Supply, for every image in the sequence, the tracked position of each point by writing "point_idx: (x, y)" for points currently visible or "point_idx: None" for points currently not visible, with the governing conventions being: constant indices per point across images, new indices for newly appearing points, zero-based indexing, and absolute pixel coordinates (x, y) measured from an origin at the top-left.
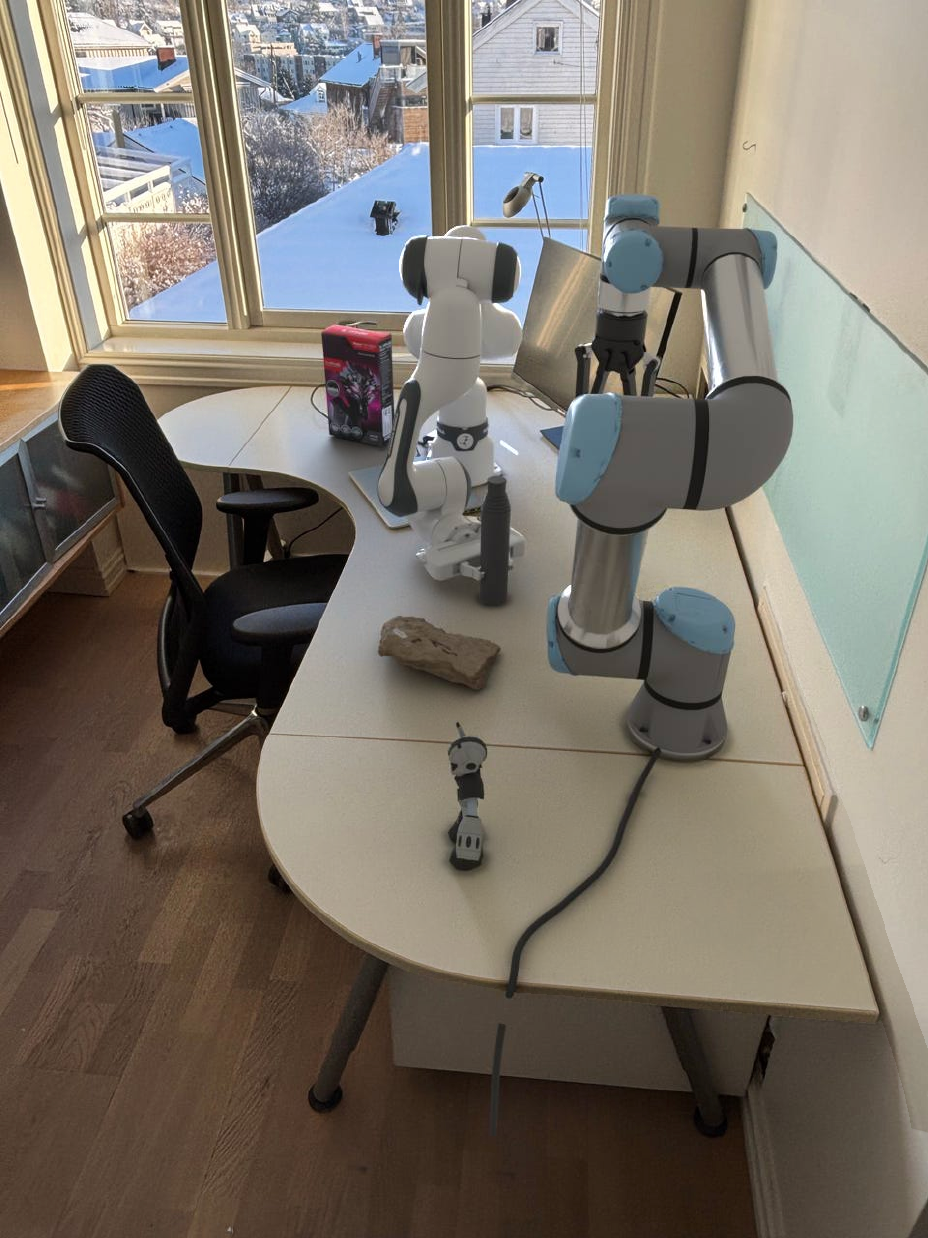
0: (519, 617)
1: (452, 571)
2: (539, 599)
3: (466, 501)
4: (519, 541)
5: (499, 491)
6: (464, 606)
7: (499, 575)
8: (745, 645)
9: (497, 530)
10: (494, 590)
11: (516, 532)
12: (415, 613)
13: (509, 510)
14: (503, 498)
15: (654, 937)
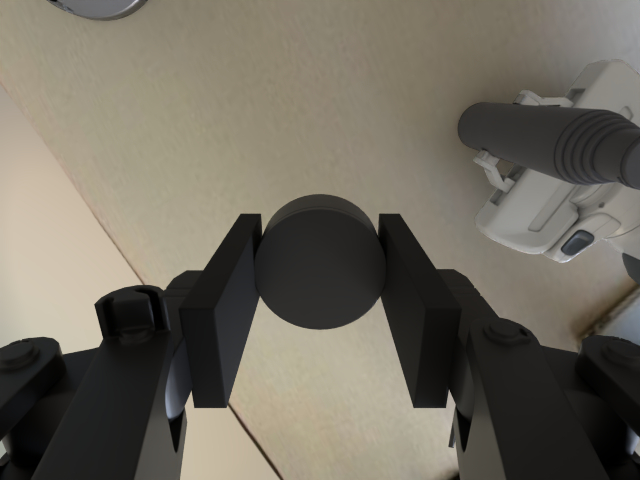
0: (423, 99)
1: (577, 87)
2: (413, 163)
3: (636, 260)
4: (492, 220)
5: (620, 137)
6: (516, 81)
7: (489, 114)
8: (116, 203)
9: (549, 114)
10: (483, 107)
11: (507, 241)
12: (589, 13)
13: (553, 150)
14: (592, 143)
15: None
